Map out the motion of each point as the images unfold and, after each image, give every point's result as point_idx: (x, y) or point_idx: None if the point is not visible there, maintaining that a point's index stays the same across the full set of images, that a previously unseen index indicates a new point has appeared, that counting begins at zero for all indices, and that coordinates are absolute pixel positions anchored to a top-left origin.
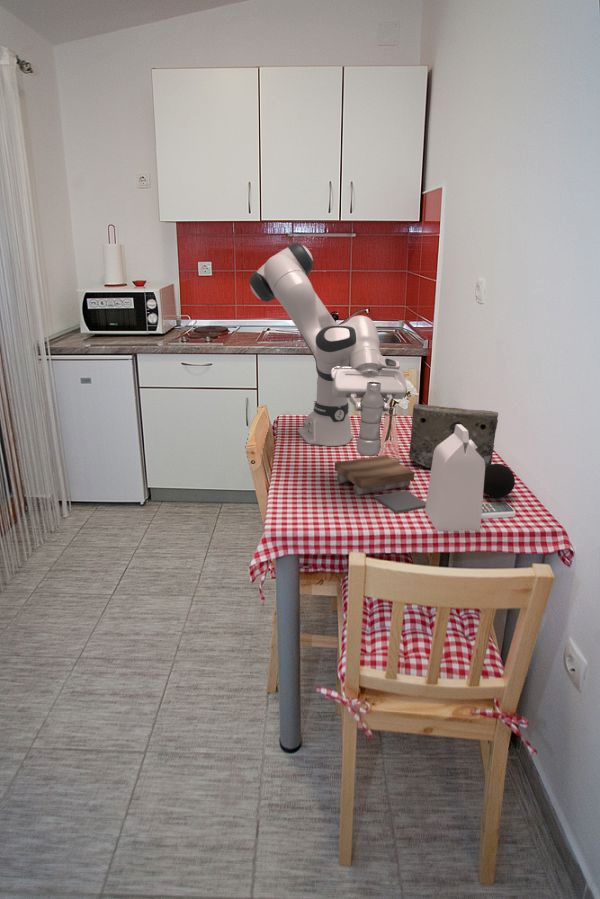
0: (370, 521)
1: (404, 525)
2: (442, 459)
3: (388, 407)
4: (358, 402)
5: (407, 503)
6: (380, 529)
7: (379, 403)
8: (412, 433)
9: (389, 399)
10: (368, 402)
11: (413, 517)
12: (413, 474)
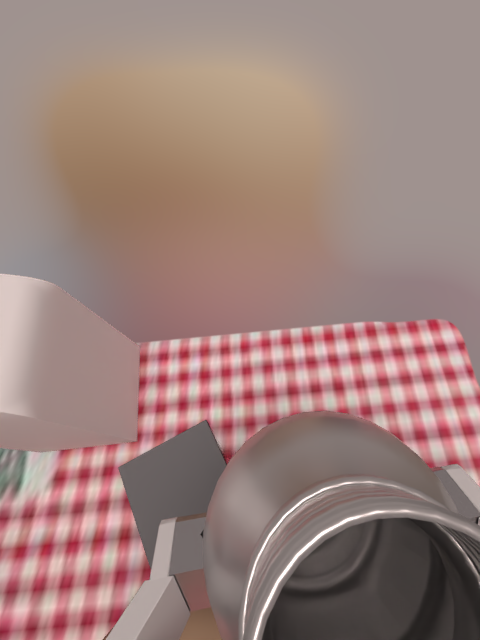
0: (265, 375)
1: (197, 363)
2: (47, 310)
3: (169, 525)
4: (472, 518)
5: (169, 469)
6: (247, 342)
7: (258, 436)
8: None
9: (128, 634)
10: (367, 423)
11: (170, 404)
12: (109, 633)
